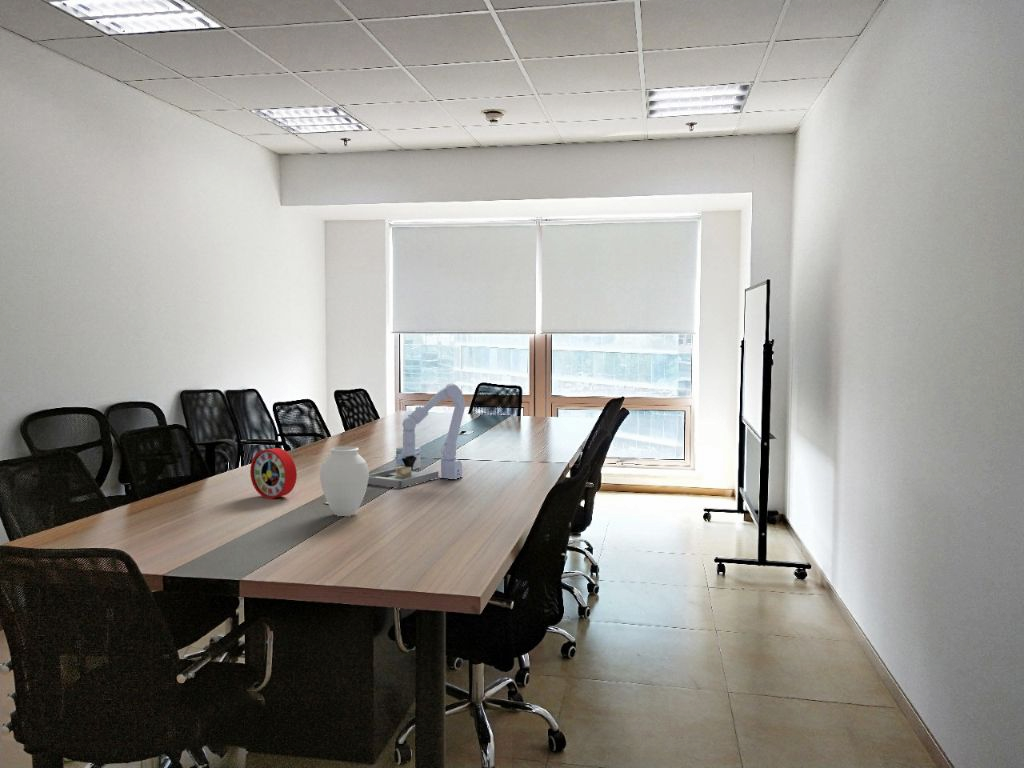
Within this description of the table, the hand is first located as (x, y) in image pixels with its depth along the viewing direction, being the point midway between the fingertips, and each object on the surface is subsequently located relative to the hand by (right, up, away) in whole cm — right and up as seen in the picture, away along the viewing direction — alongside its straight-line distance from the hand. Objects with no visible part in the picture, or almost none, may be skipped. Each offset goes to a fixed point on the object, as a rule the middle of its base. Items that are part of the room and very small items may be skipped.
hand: (409, 472), depth 358 cm
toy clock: (-50, -6, -41) cm, 65 cm away
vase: (-14, -8, -70) cm, 72 cm away
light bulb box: (-4, -2, +28) cm, 28 cm away
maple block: (-2, -1, -3) cm, 4 cm away
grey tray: (-3, -3, -5) cm, 7 cm away
